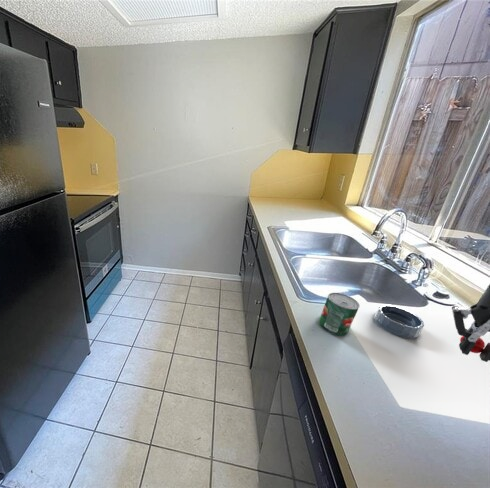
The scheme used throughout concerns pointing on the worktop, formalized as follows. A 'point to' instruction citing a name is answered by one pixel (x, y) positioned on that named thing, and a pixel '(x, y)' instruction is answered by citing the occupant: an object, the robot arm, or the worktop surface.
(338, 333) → the canned tomato
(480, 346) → the strawberry
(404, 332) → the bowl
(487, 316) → the robot arm
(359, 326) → the worktop surface
